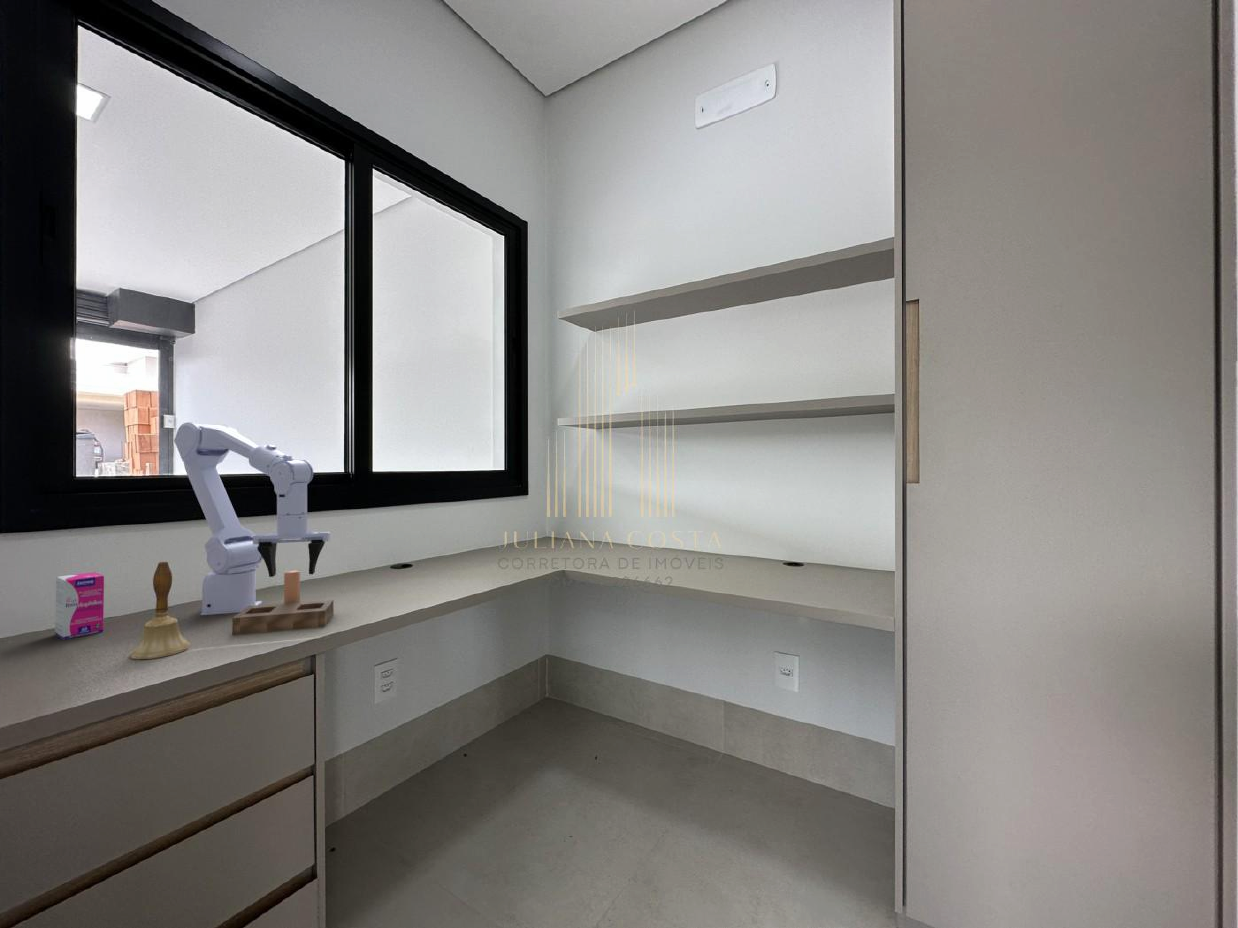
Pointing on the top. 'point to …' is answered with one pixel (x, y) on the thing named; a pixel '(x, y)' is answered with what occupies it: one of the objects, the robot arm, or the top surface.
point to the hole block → (282, 617)
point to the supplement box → (79, 605)
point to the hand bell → (161, 623)
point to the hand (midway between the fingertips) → (292, 574)
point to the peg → (292, 586)
